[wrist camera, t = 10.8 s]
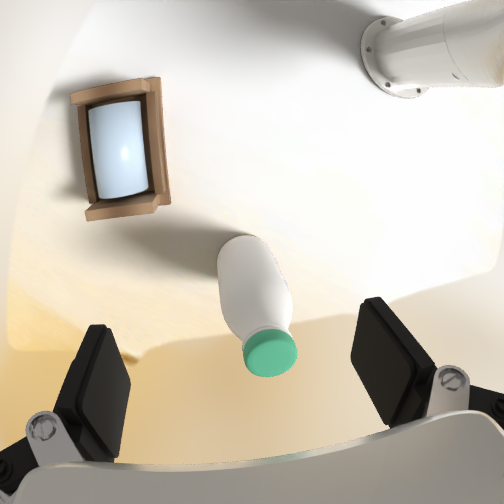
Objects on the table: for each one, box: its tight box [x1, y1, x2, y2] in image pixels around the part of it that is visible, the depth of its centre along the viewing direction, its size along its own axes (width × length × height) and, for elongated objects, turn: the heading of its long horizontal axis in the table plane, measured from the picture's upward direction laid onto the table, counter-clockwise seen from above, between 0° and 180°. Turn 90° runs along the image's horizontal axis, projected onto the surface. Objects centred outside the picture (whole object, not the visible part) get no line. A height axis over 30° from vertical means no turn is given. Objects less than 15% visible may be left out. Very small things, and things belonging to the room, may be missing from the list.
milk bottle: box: [217, 235, 297, 377], centre depth 34 cm, size 8×8×20 cm
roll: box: [88, 101, 148, 199], centre depth 31 cm, size 10×6×6 cm, turn 2°
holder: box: [71, 77, 171, 221], centre depth 31 cm, size 10×16×7 cm, turn 2°
